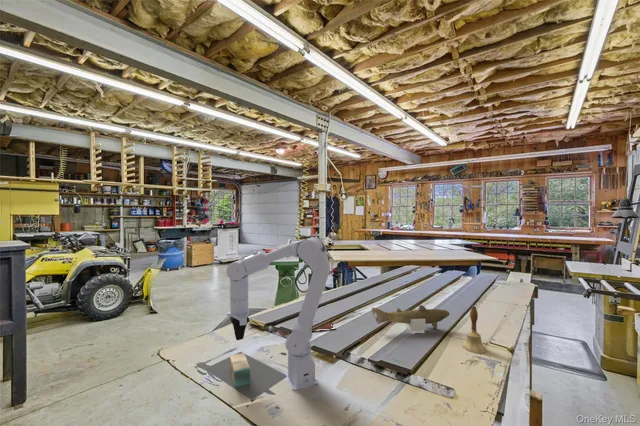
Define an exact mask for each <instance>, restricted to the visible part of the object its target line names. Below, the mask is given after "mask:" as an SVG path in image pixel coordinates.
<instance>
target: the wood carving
mask: <svg viewBox="0 0 640 426" xmlns="http://www.w3.org/2000/svg"><path fill="white" fill-rule="evenodd" d="M418 307H419V308H418V309H413V310H402V309H400V308H396V310H395V311H390V312H389V311H388V312H387V311H383V310H382V309H379V308H376V307H371V313H372V315H373V317H374V319H375V321H376V323H377V324H378V325H379V324H381V323H385V322H391V323H396V324H405V329H406V328H408V329H409V330H411V331H421V330H425V331H426V325H429V324H431V325H432V328H433V330H436V329H437V328H438V323H439V322H441V321H444V319H446V318H447V317H449V316H450V312H449V311H448V310H447V309H446V310H445V309H439V308H437V309H435V308H433V309H432V308H429V309H428V308H426V307H425V306H424V305H422V304H420V305H418ZM375 314H376V317H375Z"/></svg>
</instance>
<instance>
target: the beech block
mask: <svg viewBox="0 0 640 426" xmlns="http://www.w3.org/2000/svg"><path fill="white" fill-rule="evenodd" d="M235 354H236V355H235ZM235 354H233V355H230V356H229V357H230V371H231V375H232V379H233V382H234V386H235V387H237V386H241V385H245V384H249V383H250V367H249V364H248V362H247V359H246V356H245V354H246V353H245V352H242V353H241V354H237V353H235Z"/></svg>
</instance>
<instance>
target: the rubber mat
mask: <svg viewBox="0 0 640 426" xmlns="http://www.w3.org/2000/svg"><path fill="white" fill-rule="evenodd" d="M241 353H243V352H242V351H239V352H237V353H234V355H236V354H241ZM244 354H245V356H246V359H247V362H248V364H249V367H250V383H249V384H245V385H241V386H237V387H235V386H234V382H233V379H232V375H231V371H230V356H228V357H227V358H224V359H222V360H220V361H218V362H216V363H214V364H211V365H210V366H208V367H206V368H204V369H205V370H206V371H207V372H209V373H211V375H213V376H215V377H216V378H218V379H220V380H221V381H223V382H224V383H225V384H227V385H229V386H230V387H232V388H233V389H235V390H236V391H238V392H239V393H241V394H242V395H244V396H245V397H246V398H249V400H250V402H252V403H253V402H254V401H255V400H256V398H257V397H258V396H260V395H262V394H264V392H266V391H267V390H269V389H271V388H272V387H273V386H275V385H277V384H279V383H280V382H281V381H283V380H284V379H287V378H286V377H287V376H286V375H285V374H286V373H285V374H284V372H281V371H279V370H277V369H276V368H273V367H272V366H269V365H268V364H266V363H263V362H261V361H260V360H258V359H256V358H254V357H252V356H249V355H248V354H246V353H244Z"/></svg>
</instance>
